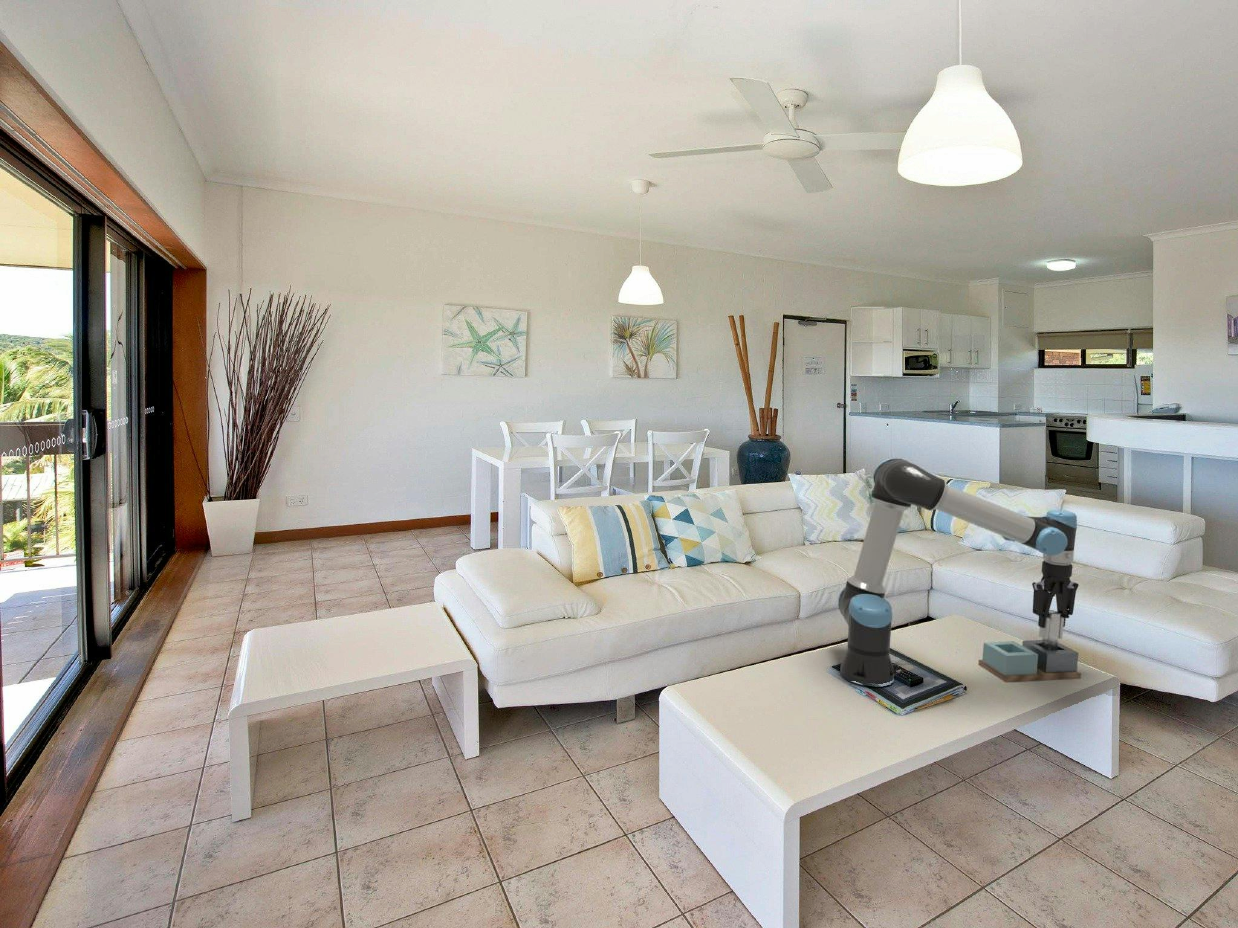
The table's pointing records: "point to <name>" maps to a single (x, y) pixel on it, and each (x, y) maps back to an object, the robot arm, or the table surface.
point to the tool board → (1030, 675)
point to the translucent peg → (1052, 631)
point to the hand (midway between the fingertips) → (1050, 637)
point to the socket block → (1053, 657)
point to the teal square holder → (1010, 658)
